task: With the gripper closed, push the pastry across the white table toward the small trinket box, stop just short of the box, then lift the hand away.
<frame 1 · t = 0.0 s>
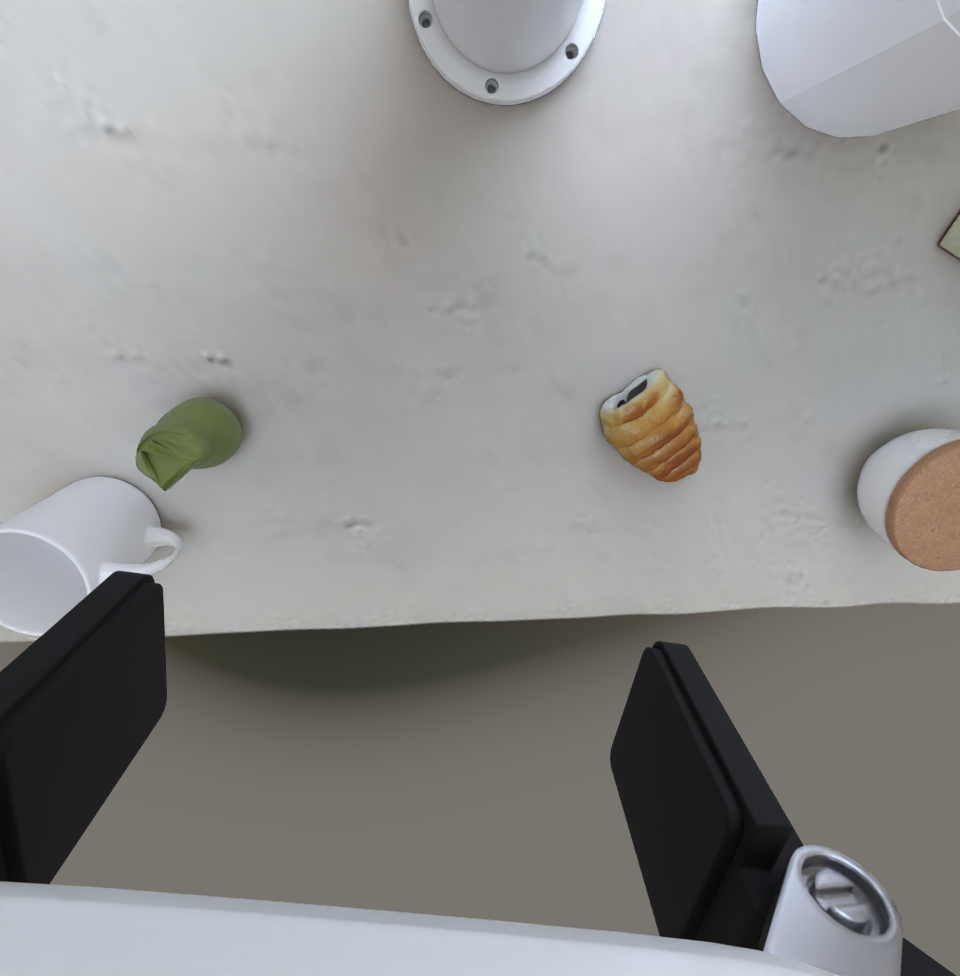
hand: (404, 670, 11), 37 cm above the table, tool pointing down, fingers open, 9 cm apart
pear: (218, 423, 47), on the table
mug: (135, 520, 50), on the table
pastry: (648, 420, 48), on the table
trinket box: (892, 472, 50), on the table
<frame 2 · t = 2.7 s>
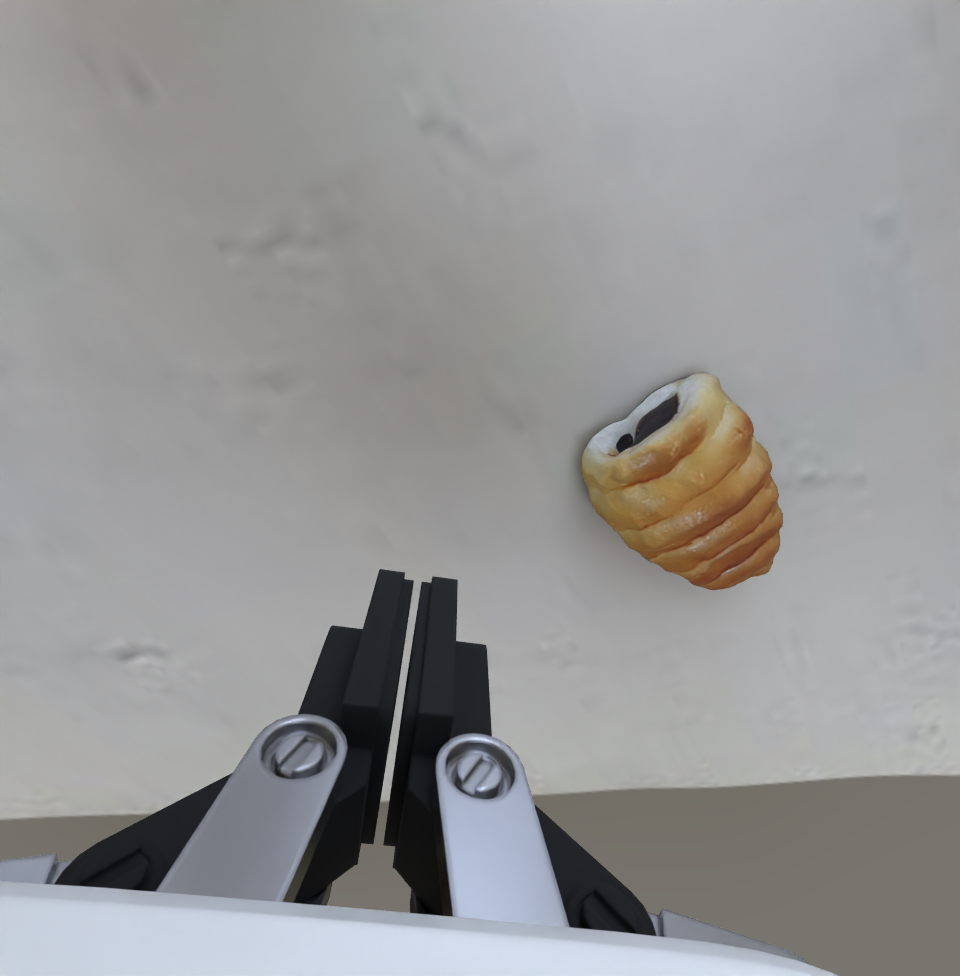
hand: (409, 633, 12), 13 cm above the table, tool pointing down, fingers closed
pastry: (676, 471, 25), on the table
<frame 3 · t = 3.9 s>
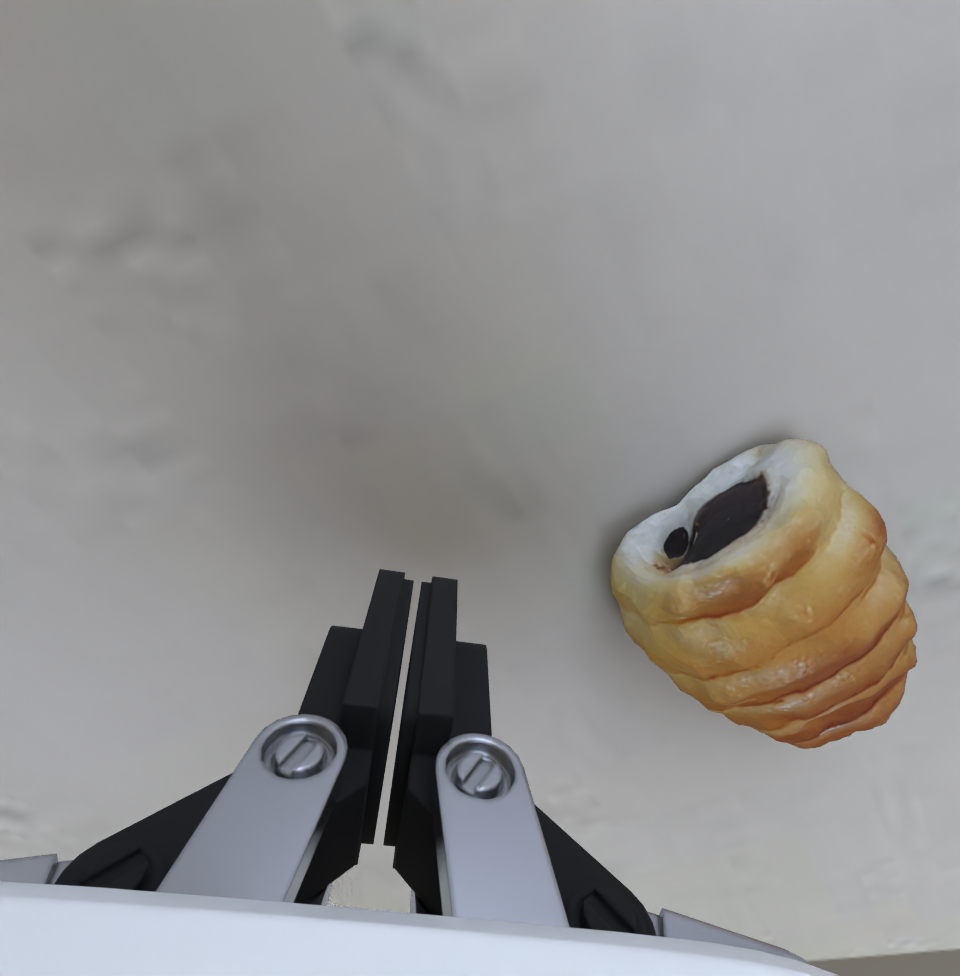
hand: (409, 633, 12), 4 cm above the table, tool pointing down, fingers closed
pastry: (746, 572, 17), on the table
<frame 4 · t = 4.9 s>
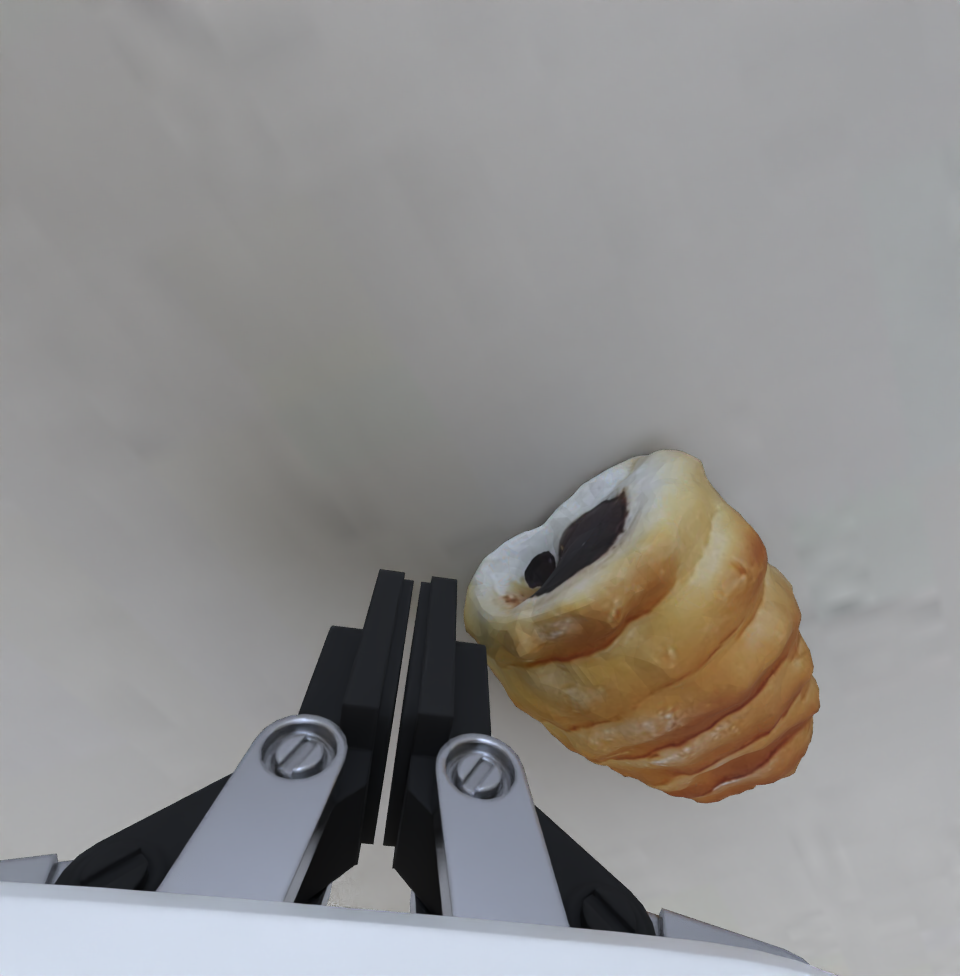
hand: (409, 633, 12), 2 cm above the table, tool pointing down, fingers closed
pastry: (636, 600, 15), on the table, touching gripper
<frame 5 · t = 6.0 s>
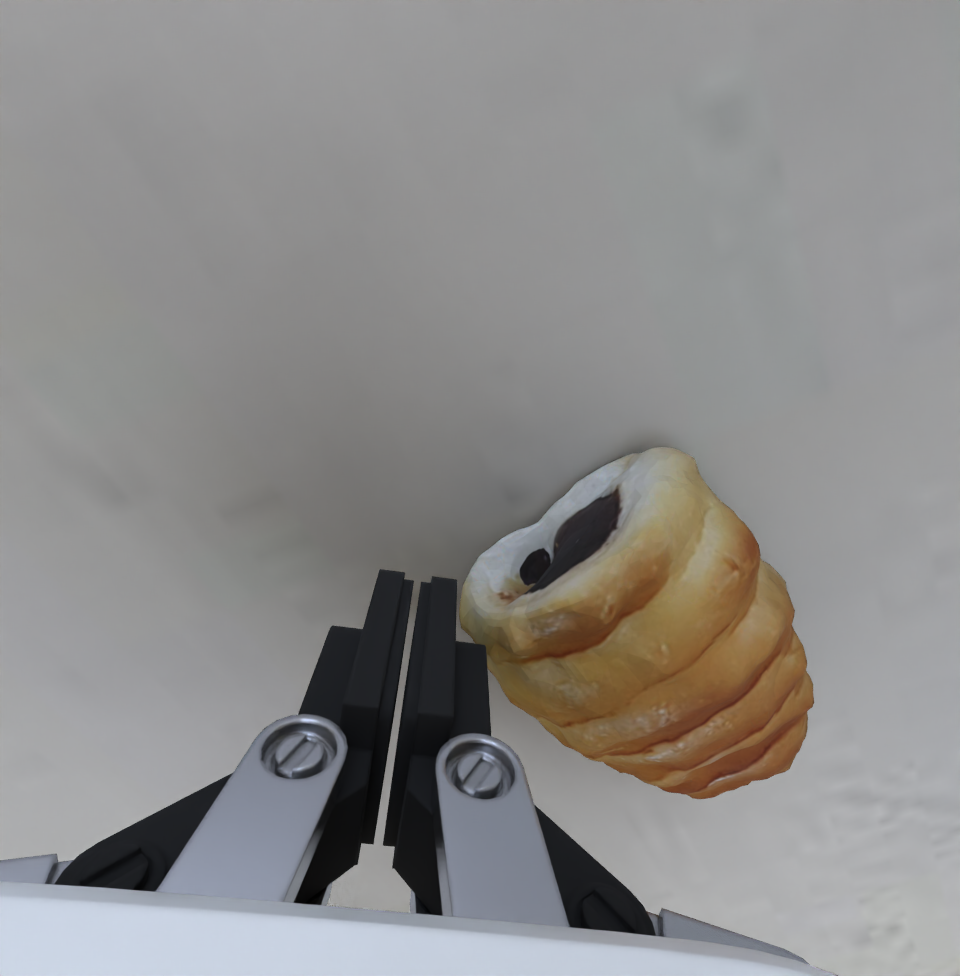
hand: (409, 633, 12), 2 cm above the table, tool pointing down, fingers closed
pastry: (632, 598, 15), on the table, touching gripper
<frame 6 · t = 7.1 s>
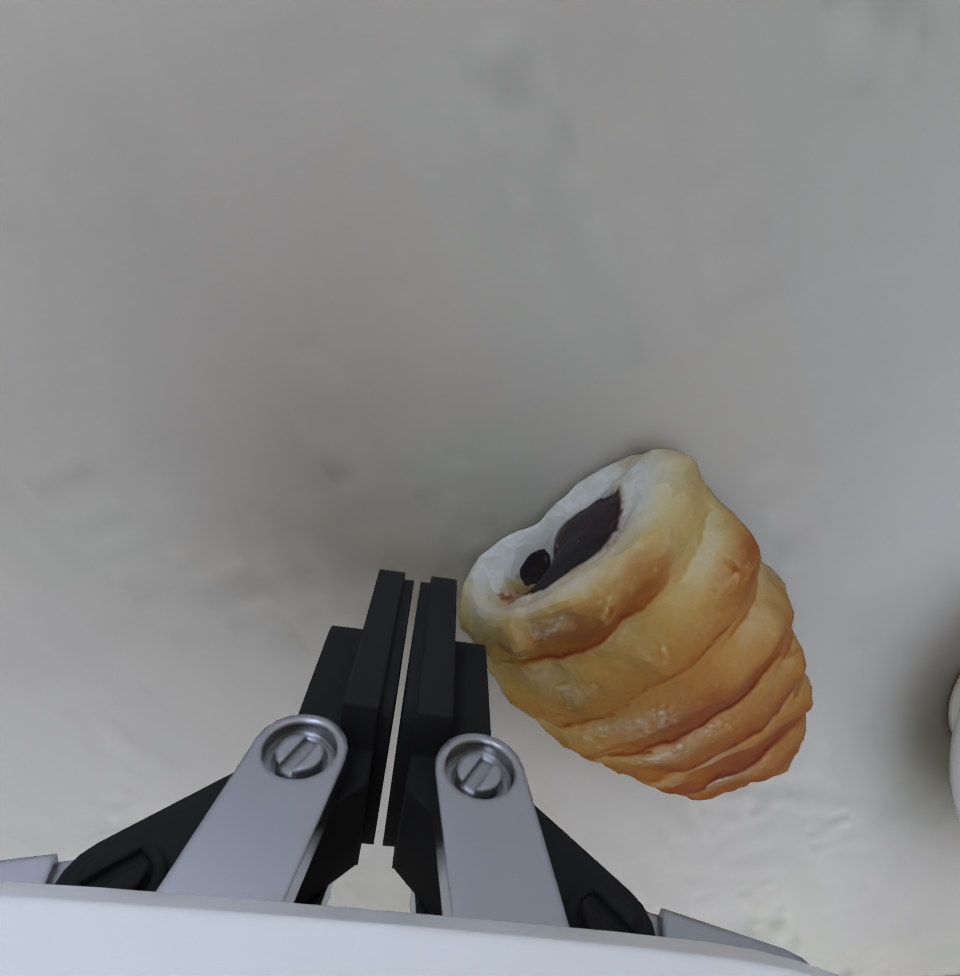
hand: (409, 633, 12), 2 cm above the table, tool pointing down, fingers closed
pastry: (631, 599, 15), on the table, touching gripper
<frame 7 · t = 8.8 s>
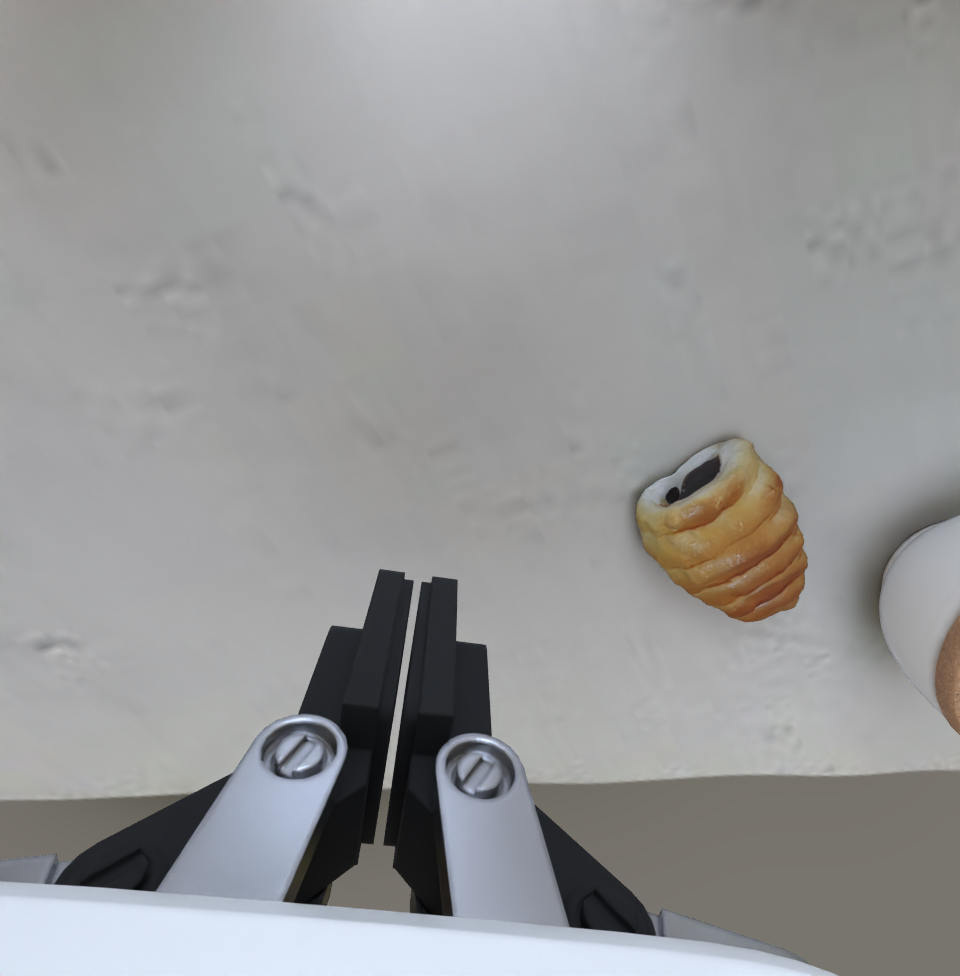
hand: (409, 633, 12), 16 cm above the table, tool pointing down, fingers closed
pastry: (714, 518, 29), on the table
trinket box: (937, 572, 30), on the table
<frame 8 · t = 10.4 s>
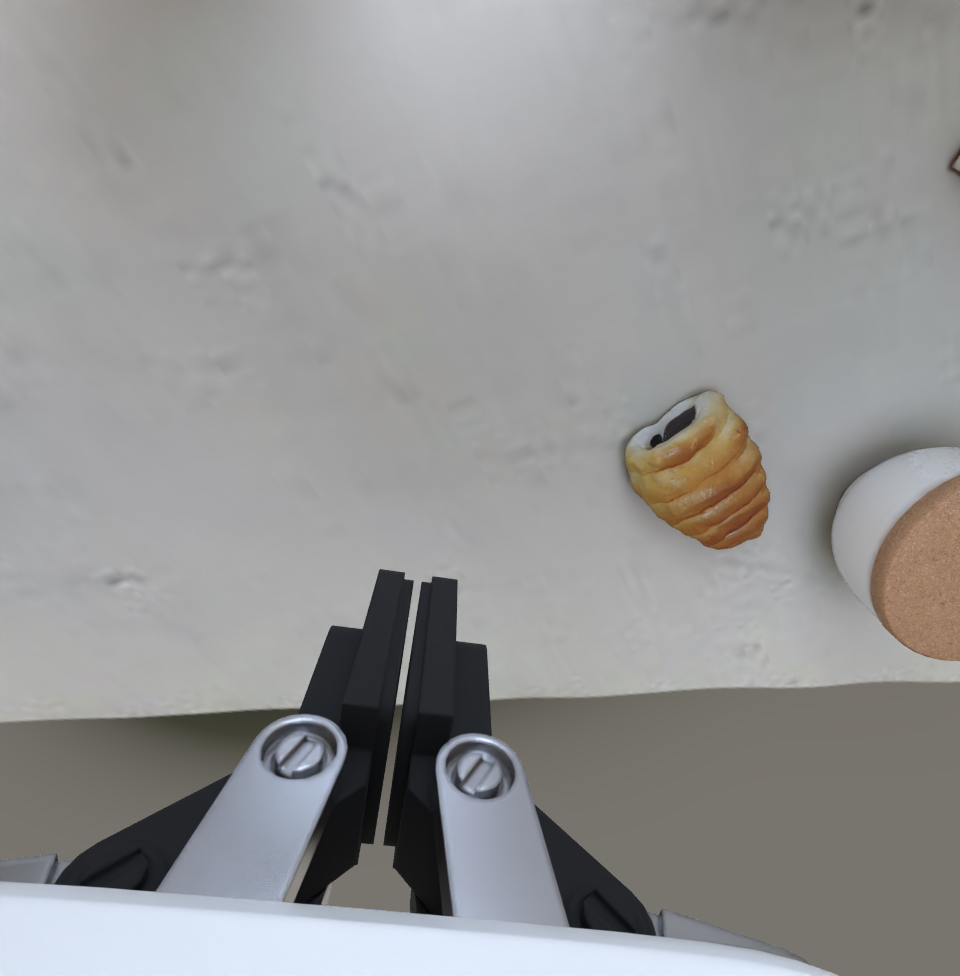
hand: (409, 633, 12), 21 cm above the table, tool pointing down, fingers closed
pastry: (692, 462, 34), on the table
trinket box: (883, 507, 35), on the table
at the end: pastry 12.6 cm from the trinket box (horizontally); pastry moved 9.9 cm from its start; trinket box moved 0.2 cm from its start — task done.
